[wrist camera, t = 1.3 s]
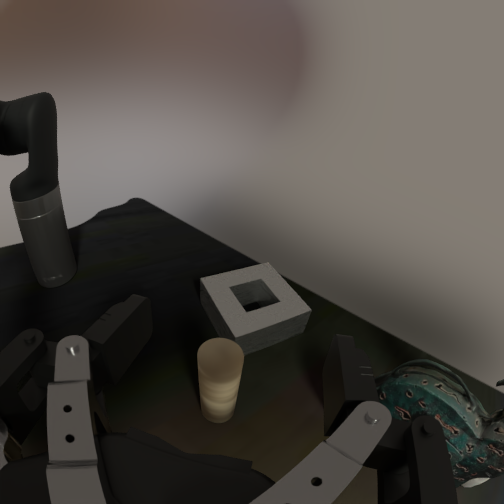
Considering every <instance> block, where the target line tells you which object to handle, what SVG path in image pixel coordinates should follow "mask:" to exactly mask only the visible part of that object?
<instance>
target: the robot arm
mask: <svg viewBox="0 0 504 504" xmlns="http://www.w3.org/2000/svg"><path fill="white" fill-rule="evenodd" d="M27 152H28V153H29V165H28V168H27V169H26V170H25V171H23V172H22V173H20V174H19V175H17V176H16V177H15V178H14V179H13V180H12V181H11V184H10V191H11V196H12V201H13V205H14V209H15V213H16V217H17V220H18V224H19V228H20V231H21V234H22V238H23V241H24V244H25V247H26V250H27V253H28V256H29V259H30V262H31V265H32V268H33V270H34V273H35V275H36V278H37V280H38V283H39V284H40V285H41V286H43V287H47V288H52V287H57V286H60V285H63V284H65V283H66V282H68V281H69V280H70V279H71V278H72V277H73V276H74V275H75V273H76V270H77V264H76V261H75V257H74V254H73V250H72V246H71V242H70V238H69V233H68V229H67V225H66V220H65V215H64V210H63V205H62V200H61V194H60V188H59V181H58V153H57V111H56V105H55V101H54V99H53V97H52V95H51V94H49V93H46V92H42V93H38V94H34V95H30V96H26V97H23V98H19V99H16V100H13V101H8V102H4V101H0V154H1V155H7V156H10V155H17V154H21V153H27ZM152 330H153V323H152V313H151V302H150V299H149V298H146V297H142V296H139V295H135V294H133V295H131V296H130V297H129V298H128V299H127V300H126V301H125V302H124V303H123V302H121V303H118V304H116V305H114V306H112V307H111V308H110V309H109V310H108V311H107V312H106V313H105V314H103V315H102V316H101V317H100V319H98V320H97V321H96V322H95V323H94V324H93V325H92V326H91V327H90V328H89V329H88V330H87V331H86V332H85V333H84V334H83V335H82V336H76V335H73V336H68V337H65V338H63V339H62V340H61V341H60V342H59V343H56V342H50V341H45V338H44V335H43V333H42V332H41V331H40V330H38V329H27V330H25V331H23V332H21V333H20V334H19V335H18V336H17V337H16V338H15V339H14V340H13V341H12V342H11V343H10V344H9V345H7V346H6V347H5V348H4V349H3V350H2V351H1V352H0V504H331V503H332V502H333V501H334V500H335V499H336V498H337V497H338V495H339V494H340V493H341V492H342V491H343V490H344V489H345V488H346V486H347V485H348V484H349V483H350V482H351V480H352V479H353V478H354V477H355V476H356V474H357V473H358V472H359V470H360V469H361V468H362V466H365V467H369V468H373V469H377V478H378V504H458V501H457V494H456V488H455V481H454V476H453V470H452V465H451V461H450V456H449V451H448V447H447V443H446V439H445V435H444V431H443V428H442V425H441V424H440V422H439V421H438V420H436V419H435V418H433V417H431V416H426V415H423V416H419V417H417V418H416V419H415V420H414V421H413V422H412V423H410V422H406V421H402V420H398V419H395V418H393V417H391V413H390V411H389V410H388V409H387V408H386V407H385V406H384V405H382V404H381V403H380V402H379V397H378V393H377V389H376V384H375V380H374V376H373V372H372V369H371V364H370V360H369V357H368V356H367V355H366V353H365V352H364V351H363V349H356V347H355V343H354V339H353V337H352V336H346V335H338V334H335V335H334V337H333V340H332V342H331V345H330V348H329V351H328V354H327V356H326V359H325V362H324V366H323V399H324V436H330V437H329V438H328V439H327V440H326V441H325V440H324V441H323V442H321V443H320V444H319V445H318V446H317V447H316V448H315V449H314V450H313V451H312V452H311V453H310V454H309V455H308V456H307V457H306V458H305V459H303V460H302V461H301V462H300V463H299V464H298V465H297V466H296V467H295V468H293V469H292V470H291V471H290V472H289V473H288V474H286V475H285V476H284V477H283V478H282V479H280V480H279V481H278V482H277V483H275V482H274V481H273V480H271V479H270V478H269V477H267V476H266V475H264V474H262V473H260V472H258V471H256V470H254V469H251V466H252V461H248V460H242V459H237V458H232V457H227V456H223V455H205V454H189V453H185V452H183V451H181V450H179V449H177V448H176V447H174V446H172V445H170V444H169V443H167V442H165V441H164V440H162V439H160V438H159V437H157V436H154V435H151V434H148V433H146V432H143V431H141V430H138V429H136V428H133V427H130V429H129V431H128V432H127V433H118V432H116V433H112V430H111V427H110V424H109V419H108V414H107V408H106V402H105V396H104V390H103V385H104V384H105V383H108V384H111V385H113V386H116V384H117V383H118V381H119V380H120V379H121V377H122V376H123V375H124V373H125V372H126V370H127V369H128V368H129V366H130V365H131V363H132V362H133V361H134V359H135V358H136V357H137V355H138V354H139V353H140V351H141V350H142V348H143V347H144V346H145V344H146V343H147V342H148V340H149V339H150V337H151V334H152ZM28 371H30V373H31V375H32V377H31V378H30V380H29V381H28V382H27V383H26V384H25V386H24V387H23V388H22V389H21V390H20V392H19V393H18V392H17V385H18V382H19V381H20V380H21V379H22V377H23V376H24V375H25V374H26V373H27V372H28ZM46 408H47V434H48V450H49V451H48V452H45V453H41V454H37V455H34V456H30V457H26V458H23V456H22V454H21V445H22V443H23V442H24V440H25V439H26V437H27V436H28V434H29V433H30V431H31V430H32V428H33V427H34V425H35V424H36V422H37V421H38V420H39V418H40V417H41V415H42V414H43V413H44V411H45V410H46Z"/></svg>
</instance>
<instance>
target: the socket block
mask: <svg viewBox="0 0 504 504" xmlns="http://www.w3.org/2000/svg"><path fill="white" fill-rule="evenodd" d="M200 302H201V304H202V306H203V308H204V310H205V312H206V313H207V315H208V317H209V319H210V321H211V323H212V324H213V326H214V328H215V330H216V331H217V333H218V335H219V337H220V338H226V339H229V340H232V341H234V342H235V343H236V344H238V345H239V346H240V348H241V349H242V351H243V354H244V355H247V354H249V353H252V352H255V351H258V350H260V349H263V348H265V347H268V346H271V345H273V344H276V343H278V342H281V341H283V340H286V339H288V338H290V337H293V336H295V335H298V334H300V333H302V332H303V331H304V329H305V326H306V323H307V321H308V318H309V316H310V313H311V309H310V308H309V307H308V306H307V304H306V303H305V302H304V301H303V300H302V299H301V298H300V297H299V296H298V294H297V293H296V292H295V291H294V290H293V289H292V288H291V287H290V286H289V285H288V283H287V282H286V281H285V280H284V279H283V278H282V277H281V276H280V275H279V274H278V273H277V271H276V270H275V269H274V268H273V267H272V266H271V265H270V264H269V263H264V264H259V265H255V266H251V267H247V268H243V269H238V270H234V271H230V272H226V273H221V274H217V275H213V276H208V277H204V278H200ZM254 302H258V303H259V305H260V306H261V307H262V308H260V309H257V310H253V311H250V312H247V313H246V311H245V310H244V308H243V307H242V306H244V305H247V304H251V303H254Z"/></svg>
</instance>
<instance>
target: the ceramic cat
mask: <svg viewBox="0 0 504 504" xmlns="http://www.w3.org/2000/svg"><path fill="white" fill-rule="evenodd" d="M422 364H424V365H428V366H432V367H435V368H437V369H439V370H441V371H443V372H445V373H447V374H449V375H450V376H451V377H453V378H454V379H455V380H456V381H457V382H458V383H459V384H460V385H461V386H460V385H459V384H457V383H455V382H453V381H451V380H450V379H448V378H447V377H446V376H444V375H443V374H441V373H439V372H437V371H435V370H431V369H426V368H422V367H416V366H412V367H409V366H408V365H422ZM405 366H407V367H405ZM374 380H375V384H376V389H377V393H378V397H379V402H380V403H381V404H382V405H384V406H385V407H386V408H387V409H388V410H389V411H390V413H391V417H393V418H395V419H398V420H402V421H406V422H410V423H412V422H413V421H414V420H415V419H416V418H417V417H419V416H423V415H426V416H431V417H433V418H435V419H436V420H438V421H439V422H440V424H441V425H442V428H443V431H444V435H445V439H446V443H447V447H448V451H449V456H450V461H451V465H452V470H453V476H454V481H455V488H457V487H459V486H460V485H462V484H464V483H466V482H467V481H469V480H471V479H475V478H495V477H498V476H500V475H502V474H504V409H500V410H497V411H494V412H493V413H491V414H490V415H489V414H488V413H487V412H486V411H485V410H484V408H483V407H482V405H481V403H480V402H479V400H478V399H477V398H476V396H475V395H473V394H472V393H471V392H470V391H469V390H468V388H467V386H466V385H465V383H464V382H463V381H462V379H461V378H460V377H459V376H458V375H456V374H455V373H453V372H452V371H450V370H449V369H448V368H446V367H444V366H442V365H440V364H438V363H435V362H433V361H430V360H427V359H417V360H412V361H408V362H406V363H403V364H402V365H400V366H398V367H396V368H395V369H394V370H392V371H390V372H386V373H383V374H381V375H379V376H378V377H376V378H374ZM501 385H504V379H503V380H501V381H498V382H497V385H496V386H501Z"/></svg>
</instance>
